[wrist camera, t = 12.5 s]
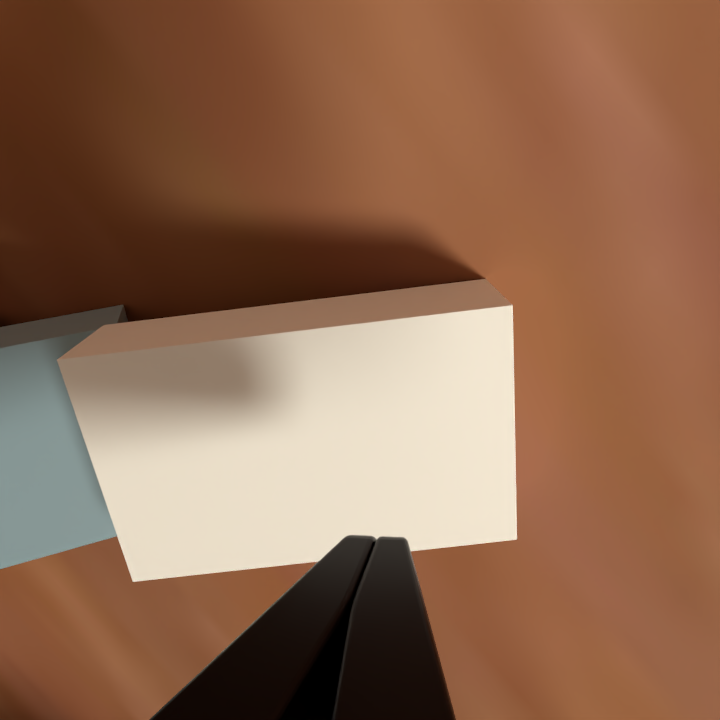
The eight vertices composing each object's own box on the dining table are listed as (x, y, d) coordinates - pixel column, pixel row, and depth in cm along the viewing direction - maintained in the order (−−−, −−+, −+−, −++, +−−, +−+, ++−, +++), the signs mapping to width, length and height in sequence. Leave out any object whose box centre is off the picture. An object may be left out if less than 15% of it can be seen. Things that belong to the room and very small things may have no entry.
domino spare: (512, 305, 10) (56, 360, 10) (516, 539, 11) (132, 581, 12) (485, 278, 11) (103, 325, 12) (492, 483, 13) (162, 520, 13)
